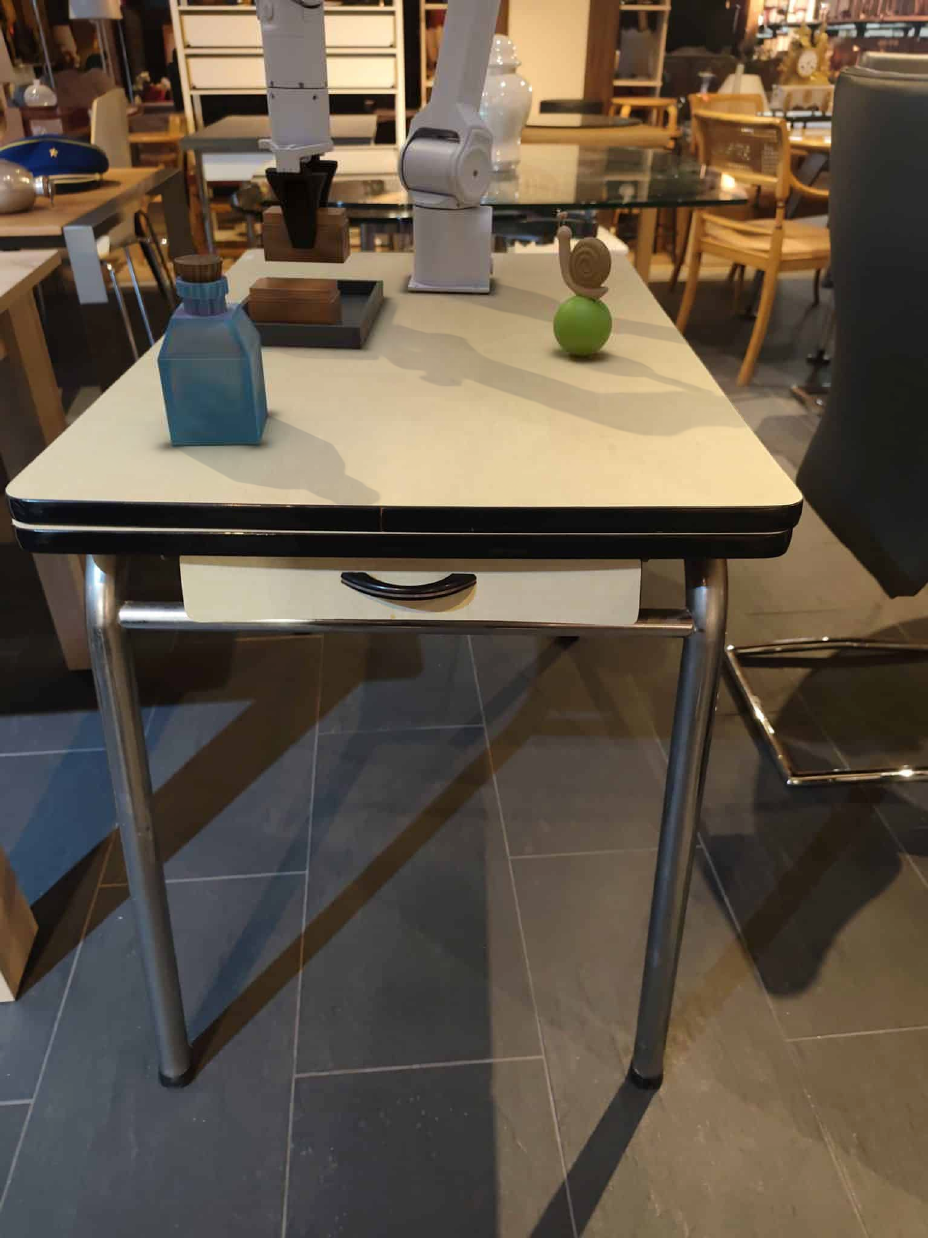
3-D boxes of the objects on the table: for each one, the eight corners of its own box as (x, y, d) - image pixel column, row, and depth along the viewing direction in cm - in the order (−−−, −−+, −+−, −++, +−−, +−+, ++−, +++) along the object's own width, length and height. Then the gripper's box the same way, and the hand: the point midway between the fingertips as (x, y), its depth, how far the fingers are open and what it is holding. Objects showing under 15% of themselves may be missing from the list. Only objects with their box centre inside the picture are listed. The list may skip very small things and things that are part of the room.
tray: (383, 298, 100) (383, 280, 99) (361, 348, 84) (360, 326, 83) (267, 295, 100) (265, 276, 99) (223, 344, 84) (220, 322, 83)
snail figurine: (568, 340, 88) (579, 208, 81) (620, 355, 84) (636, 217, 77) (531, 351, 84) (539, 214, 78) (583, 366, 81) (597, 224, 74)
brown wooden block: (342, 326, 88) (339, 279, 86) (335, 339, 85) (332, 290, 82) (262, 324, 88) (257, 277, 86) (251, 336, 85) (246, 287, 82)
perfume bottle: (186, 414, 69) (161, 249, 62) (267, 413, 69) (250, 250, 62) (171, 445, 63) (141, 269, 57) (259, 444, 64) (239, 269, 57)
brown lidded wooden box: (350, 254, 93) (348, 207, 90) (344, 263, 89) (341, 214, 86) (274, 252, 93) (270, 205, 90) (264, 261, 89) (260, 212, 86)
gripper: (271, 82, 89) (283, 228, 96) (235, 89, 77) (252, 256, 84) (341, 84, 89) (348, 230, 96) (316, 91, 76) (326, 258, 84)
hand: (308, 243), depth 90 cm, fingers closed on brown lidded wooden box, 4 cm apart
